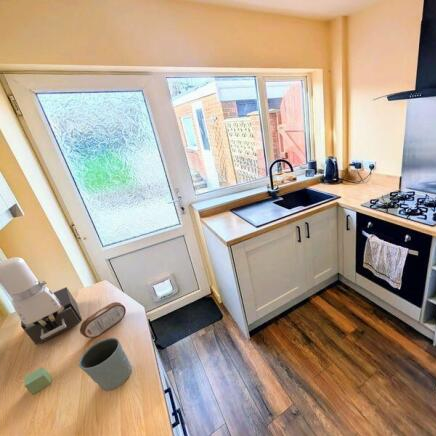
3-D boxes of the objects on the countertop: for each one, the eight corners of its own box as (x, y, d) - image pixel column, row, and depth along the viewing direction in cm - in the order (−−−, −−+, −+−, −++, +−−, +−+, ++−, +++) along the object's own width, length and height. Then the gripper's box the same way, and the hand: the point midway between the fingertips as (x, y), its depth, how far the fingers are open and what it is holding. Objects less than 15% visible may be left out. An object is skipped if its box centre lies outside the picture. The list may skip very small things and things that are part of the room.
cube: (32, 395, 75) (24, 386, 73) (32, 385, 78) (24, 376, 76) (51, 383, 78) (43, 375, 76) (50, 374, 81) (43, 366, 79)
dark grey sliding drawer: (82, 329, 96) (72, 315, 93) (36, 354, 88) (24, 339, 85) (75, 305, 110) (66, 292, 106) (35, 325, 101) (24, 311, 98)
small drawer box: (82, 320, 102) (70, 302, 98) (35, 344, 93) (20, 326, 89) (76, 303, 113) (66, 286, 109) (34, 323, 104) (21, 306, 99)
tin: (126, 312, 104) (118, 297, 100) (130, 315, 102) (122, 299, 98) (85, 340, 92) (74, 324, 89) (89, 344, 91) (78, 327, 87)
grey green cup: (139, 371, 79) (125, 345, 73) (105, 401, 71) (86, 375, 66) (125, 356, 84) (110, 332, 79) (91, 383, 77) (72, 358, 72)
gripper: (53, 275, 92) (77, 312, 99) (-4, 299, 82) (27, 337, 90) (55, 283, 87) (80, 321, 94) (-6, 309, 77) (27, 348, 85)
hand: (54, 328), depth 92 cm, fingers closed
